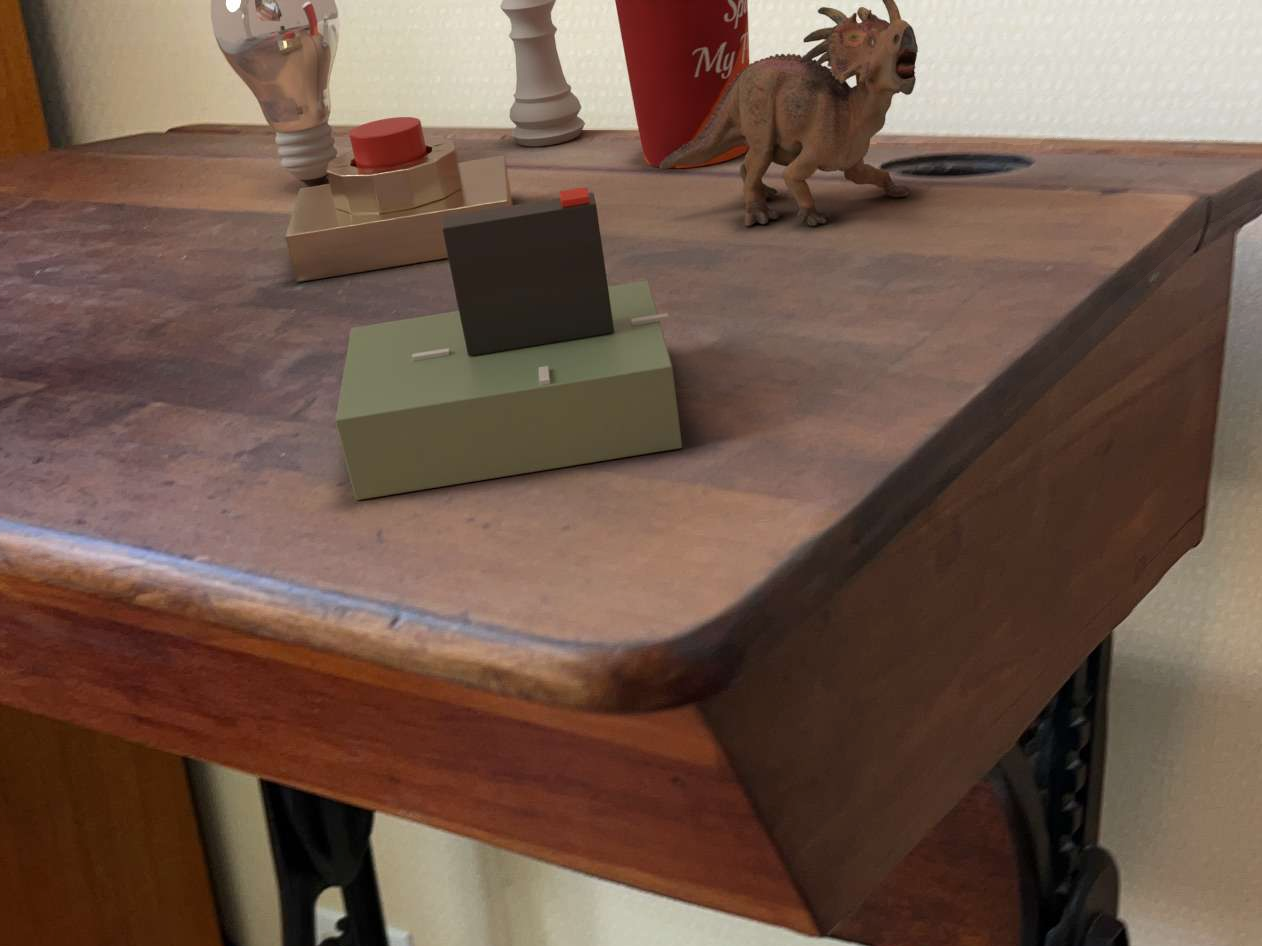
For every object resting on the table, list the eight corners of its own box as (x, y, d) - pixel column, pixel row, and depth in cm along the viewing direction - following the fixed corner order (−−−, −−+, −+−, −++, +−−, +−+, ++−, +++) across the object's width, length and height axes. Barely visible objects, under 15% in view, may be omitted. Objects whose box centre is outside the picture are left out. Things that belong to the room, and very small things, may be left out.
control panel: (355, 500, 60) (333, 415, 58) (368, 401, 67) (349, 323, 65) (691, 447, 59) (681, 359, 57) (666, 354, 67) (656, 274, 65)
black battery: (468, 356, 61) (440, 221, 58) (468, 342, 62) (441, 209, 59) (614, 333, 61) (594, 196, 58) (611, 319, 62) (592, 184, 59)
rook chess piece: (572, 122, 100) (550, -29, 95) (596, 135, 97) (574, -21, 92) (503, 138, 99) (476, -14, 94) (524, 152, 96) (498, -5, 91)
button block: (297, 282, 82) (274, 196, 79) (310, 231, 88) (290, 151, 86) (515, 247, 81) (500, 160, 79) (512, 199, 88) (498, 117, 86)
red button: (355, 179, 81) (346, 141, 80) (359, 161, 84) (351, 124, 83) (427, 167, 81) (419, 129, 80) (428, 150, 84) (421, 112, 83)
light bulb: (392, 177, 95) (340, -65, 88) (282, 209, 93) (218, -37, 85) (346, 159, 100) (292, -71, 92) (240, 189, 98) (176, -45, 90)
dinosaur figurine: (963, 191, 79) (962, -31, 73) (920, 230, 75) (915, -1, 69) (710, 189, 85) (689, -17, 79) (658, 225, 81) (632, 12, 75)
